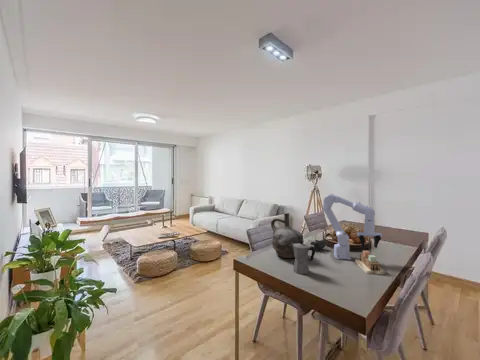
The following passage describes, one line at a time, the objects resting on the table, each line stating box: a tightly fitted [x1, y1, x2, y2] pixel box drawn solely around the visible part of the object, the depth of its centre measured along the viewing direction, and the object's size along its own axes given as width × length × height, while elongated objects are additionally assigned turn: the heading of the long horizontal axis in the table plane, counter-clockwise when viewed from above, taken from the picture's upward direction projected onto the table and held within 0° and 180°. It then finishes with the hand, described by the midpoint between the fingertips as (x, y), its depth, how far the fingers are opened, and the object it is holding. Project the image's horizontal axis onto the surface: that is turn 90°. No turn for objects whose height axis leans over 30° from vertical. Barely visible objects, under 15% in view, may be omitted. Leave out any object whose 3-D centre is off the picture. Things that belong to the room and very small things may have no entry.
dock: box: [354, 258, 387, 275], centre depth 139 cm, size 10×18×2 cm, turn 173°
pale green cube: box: [368, 254, 377, 262], centre depth 134 cm, size 3×3×3 cm
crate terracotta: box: [362, 249, 371, 257], centre depth 143 cm, size 3×3×3 cm
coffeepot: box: [291, 240, 316, 275], centre depth 133 cm, size 15×9×18 cm, turn 43°
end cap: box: [310, 239, 326, 252], centre depth 171 cm, size 10×7×7 cm
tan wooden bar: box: [359, 253, 381, 271], centre depth 139 cm, size 16×5×4 cm, turn 173°
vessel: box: [270, 212, 305, 259], centre depth 159 cm, size 24×22×30 cm
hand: (369, 247), depth 148 cm, fingers open, 7 cm apart
